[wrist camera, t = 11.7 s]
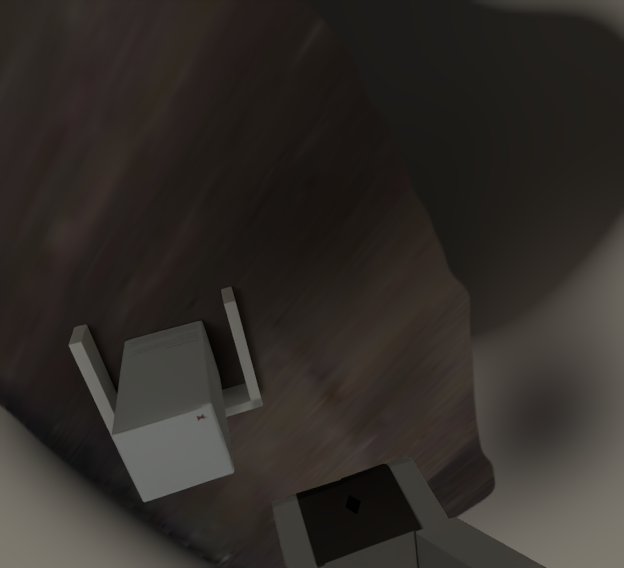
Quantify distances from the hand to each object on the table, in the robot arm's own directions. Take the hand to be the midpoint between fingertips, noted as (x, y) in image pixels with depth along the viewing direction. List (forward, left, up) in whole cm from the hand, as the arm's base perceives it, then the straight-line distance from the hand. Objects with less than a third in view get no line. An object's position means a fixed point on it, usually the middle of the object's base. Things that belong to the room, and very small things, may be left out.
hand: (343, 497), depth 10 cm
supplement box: (+17, -8, -34) cm, 39 cm away
